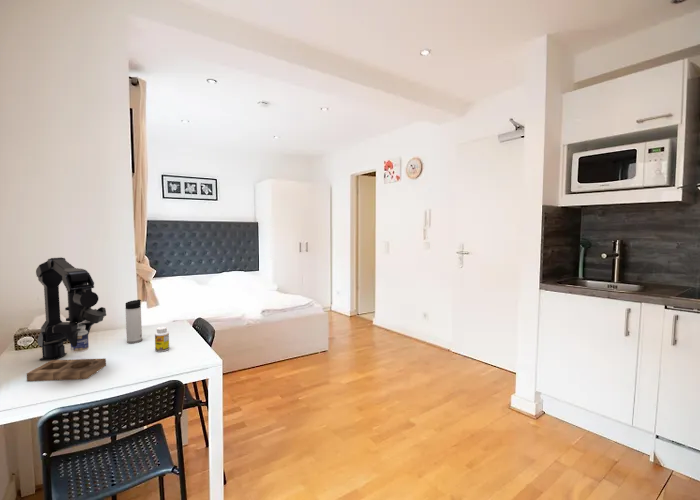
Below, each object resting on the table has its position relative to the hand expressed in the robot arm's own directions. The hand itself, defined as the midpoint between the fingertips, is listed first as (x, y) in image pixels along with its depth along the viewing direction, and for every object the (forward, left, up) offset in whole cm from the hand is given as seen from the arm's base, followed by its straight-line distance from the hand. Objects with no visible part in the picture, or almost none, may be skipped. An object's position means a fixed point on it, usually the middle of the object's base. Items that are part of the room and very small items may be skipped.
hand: (79, 343), depth 131 cm
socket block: (-4, 0, -11) cm, 12 cm away
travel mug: (+3, +35, -12) cm, 37 cm away
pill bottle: (0, 0, -3) cm, 3 cm away
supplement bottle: (+21, +22, -12) cm, 32 cm away
